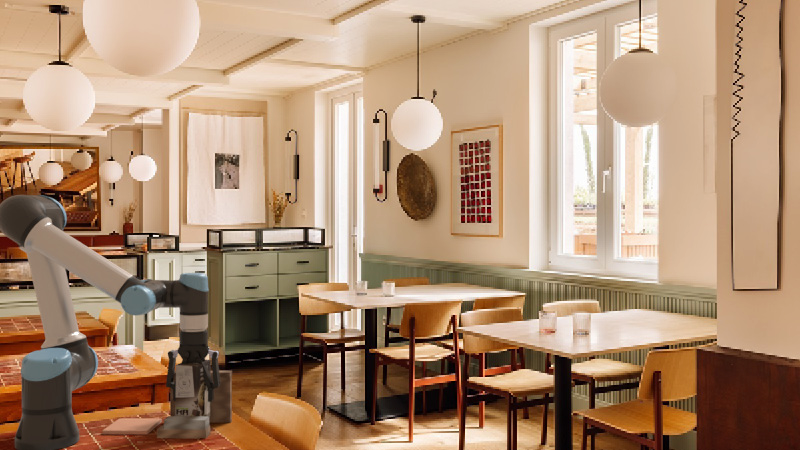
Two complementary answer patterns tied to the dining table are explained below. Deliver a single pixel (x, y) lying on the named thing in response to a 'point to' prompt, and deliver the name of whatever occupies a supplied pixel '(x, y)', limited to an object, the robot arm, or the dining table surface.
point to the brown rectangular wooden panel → (215, 399)
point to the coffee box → (191, 389)
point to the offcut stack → (184, 427)
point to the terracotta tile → (132, 426)
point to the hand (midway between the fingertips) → (193, 412)
